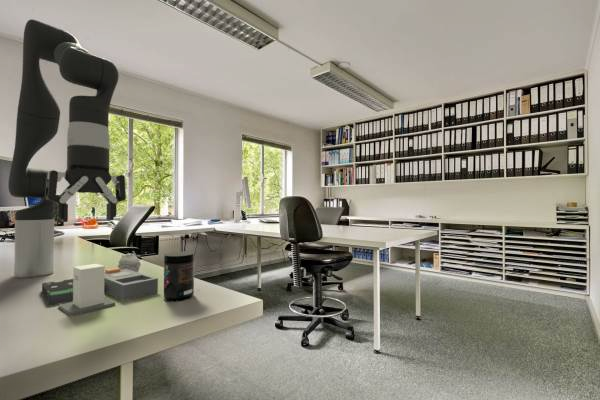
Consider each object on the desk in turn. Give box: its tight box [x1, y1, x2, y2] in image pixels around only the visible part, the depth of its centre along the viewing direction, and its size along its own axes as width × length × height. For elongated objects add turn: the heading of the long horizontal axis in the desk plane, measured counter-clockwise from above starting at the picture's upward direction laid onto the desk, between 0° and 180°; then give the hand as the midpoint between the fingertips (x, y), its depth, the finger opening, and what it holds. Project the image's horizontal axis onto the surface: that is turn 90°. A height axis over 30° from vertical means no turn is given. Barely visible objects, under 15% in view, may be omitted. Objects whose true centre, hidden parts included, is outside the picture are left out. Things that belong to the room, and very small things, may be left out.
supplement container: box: [163, 251, 195, 302], centre depth 71 cm, size 7×7×10 cm
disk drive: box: [41, 278, 73, 306], centre depth 74 cm, size 10×3×15 cm
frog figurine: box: [117, 253, 142, 273], centre depth 91 cm, size 6×7×7 cm
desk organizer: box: [104, 267, 159, 301], centre depth 79 cm, size 24×8×4 cm, turn 53°
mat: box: [57, 296, 116, 317], centre depth 64 cm, size 8×8×1 cm
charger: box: [72, 263, 106, 308], centre depth 65 cm, size 4×4×8 cm
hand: (88, 220), depth 65 cm, fingers open, 8 cm apart
